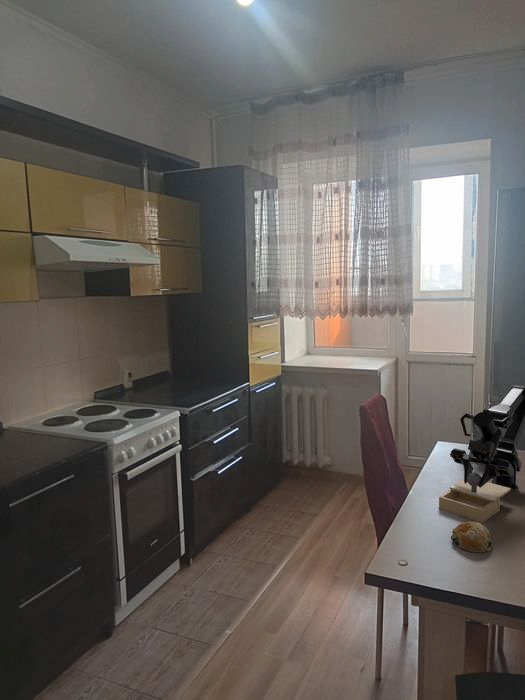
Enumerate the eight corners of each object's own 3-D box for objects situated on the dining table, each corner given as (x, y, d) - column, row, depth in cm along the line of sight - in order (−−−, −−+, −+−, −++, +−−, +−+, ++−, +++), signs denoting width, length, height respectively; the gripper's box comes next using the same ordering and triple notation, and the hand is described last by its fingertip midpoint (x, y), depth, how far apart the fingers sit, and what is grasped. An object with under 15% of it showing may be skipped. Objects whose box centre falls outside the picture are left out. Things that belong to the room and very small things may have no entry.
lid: (467, 478, 176) (468, 458, 175) (510, 490, 166) (511, 469, 165) (449, 489, 168) (449, 469, 167) (493, 502, 157) (494, 480, 156)
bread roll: (480, 568, 136) (495, 546, 134) (444, 544, 141) (458, 522, 138) (486, 551, 145) (500, 529, 142) (452, 528, 149) (465, 507, 146)
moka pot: (503, 463, 201) (505, 413, 199) (461, 461, 204) (463, 412, 202) (497, 454, 211) (499, 407, 208) (457, 453, 214) (458, 406, 211)
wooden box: (456, 497, 172) (457, 485, 171) (499, 510, 161) (500, 498, 161) (438, 508, 164) (439, 496, 163) (482, 523, 153) (482, 510, 153)
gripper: (453, 424, 171) (435, 465, 165) (511, 436, 157) (494, 480, 151) (464, 441, 177) (447, 481, 171) (520, 454, 163) (505, 498, 158)
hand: (472, 485), depth 163 cm, fingers closed on lid, 4 cm apart
